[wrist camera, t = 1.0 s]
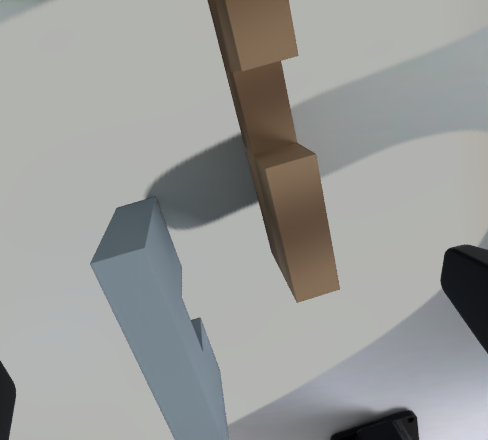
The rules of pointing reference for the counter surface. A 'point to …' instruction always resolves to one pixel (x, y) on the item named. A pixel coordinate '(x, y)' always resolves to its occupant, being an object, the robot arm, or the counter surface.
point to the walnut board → (276, 141)
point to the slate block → (160, 321)
